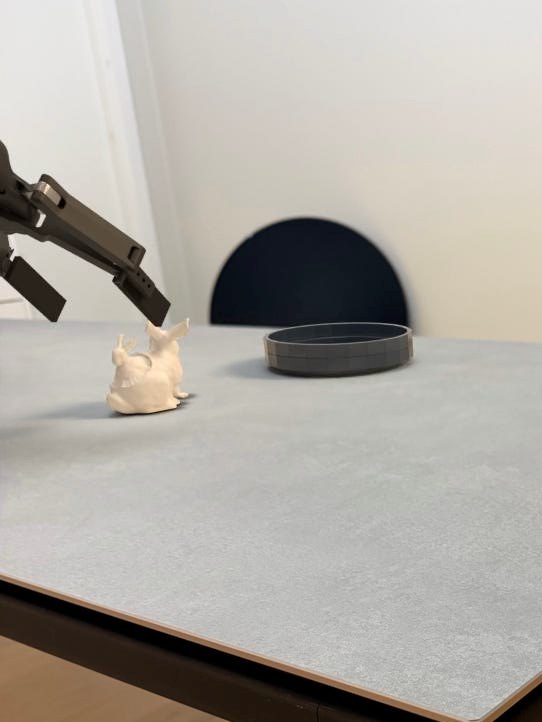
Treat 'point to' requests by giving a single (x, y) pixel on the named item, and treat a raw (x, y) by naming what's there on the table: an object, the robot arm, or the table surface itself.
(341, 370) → the bowl
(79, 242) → the robot arm
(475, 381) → the table surface
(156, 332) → the rabbit figurine
